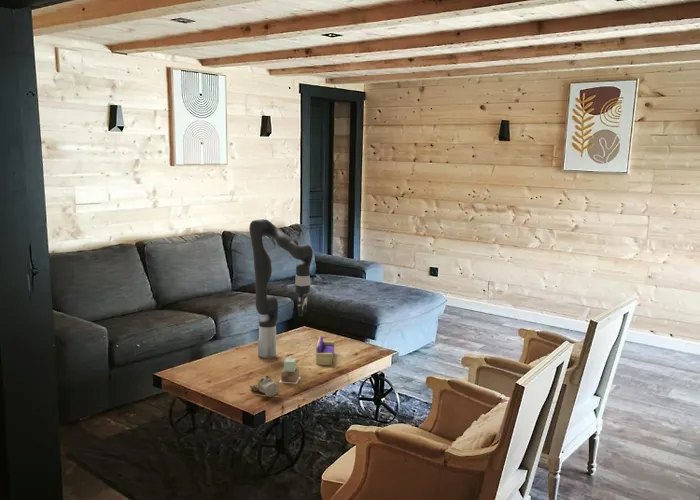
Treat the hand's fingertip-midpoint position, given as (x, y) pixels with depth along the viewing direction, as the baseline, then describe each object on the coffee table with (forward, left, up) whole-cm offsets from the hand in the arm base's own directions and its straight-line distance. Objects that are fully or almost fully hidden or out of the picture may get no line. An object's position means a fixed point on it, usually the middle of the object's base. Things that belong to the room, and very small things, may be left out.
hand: (302, 314), depth 317 cm
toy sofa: (+10, +14, -28) cm, 33 cm away
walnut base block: (-1, -22, -27) cm, 35 cm away
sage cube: (-1, -22, -22) cm, 31 cm away
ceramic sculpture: (-8, -39, -28) cm, 49 cm away
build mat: (-1, -22, -28) cm, 36 cm away
